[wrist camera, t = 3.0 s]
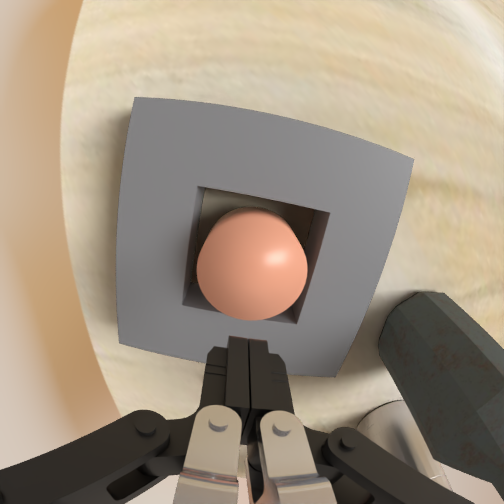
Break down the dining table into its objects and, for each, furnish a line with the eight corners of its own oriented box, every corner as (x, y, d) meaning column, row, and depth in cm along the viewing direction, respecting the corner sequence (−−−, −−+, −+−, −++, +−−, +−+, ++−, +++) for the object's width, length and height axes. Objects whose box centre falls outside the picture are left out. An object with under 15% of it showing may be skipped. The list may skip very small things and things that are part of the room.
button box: (389, 156, 21) (414, 159, 17) (326, 351, 27) (335, 377, 24) (153, 105, 19) (134, 97, 15) (133, 319, 26) (119, 343, 22)
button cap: (307, 216, 21) (320, 231, 17) (284, 299, 23) (291, 327, 19) (213, 198, 20) (205, 209, 16) (199, 284, 22) (191, 310, 19)
